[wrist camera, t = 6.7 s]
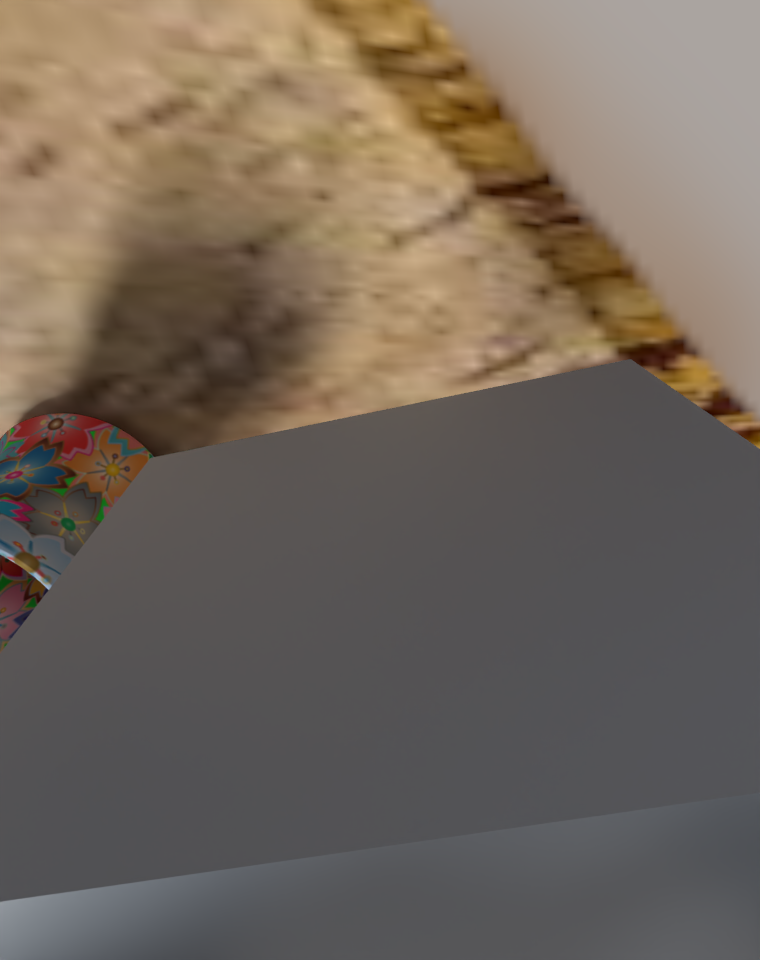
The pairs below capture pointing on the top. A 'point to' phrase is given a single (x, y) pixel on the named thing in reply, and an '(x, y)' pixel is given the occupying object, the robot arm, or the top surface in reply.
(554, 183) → the top surface
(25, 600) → the mug
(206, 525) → the gray tilted carton
